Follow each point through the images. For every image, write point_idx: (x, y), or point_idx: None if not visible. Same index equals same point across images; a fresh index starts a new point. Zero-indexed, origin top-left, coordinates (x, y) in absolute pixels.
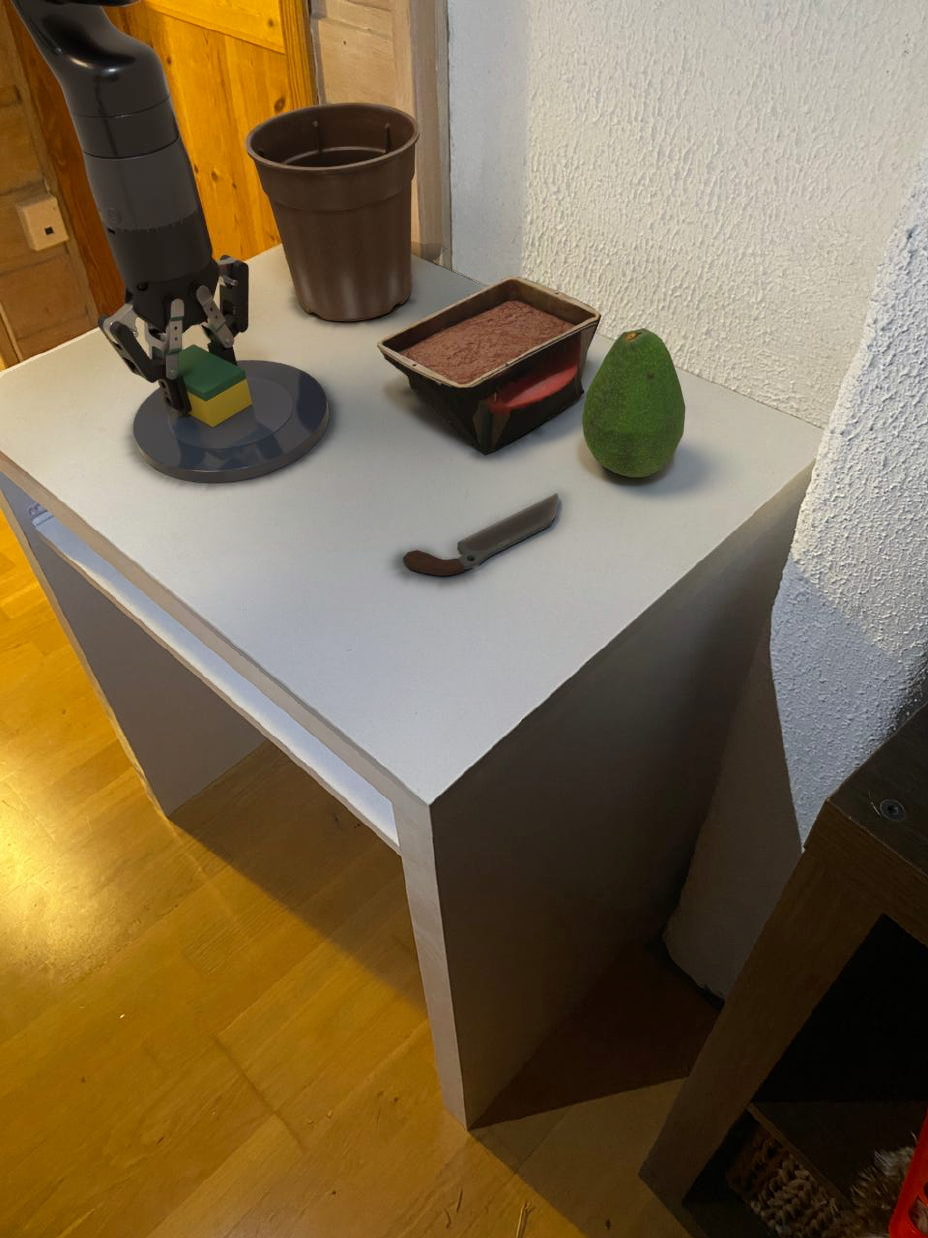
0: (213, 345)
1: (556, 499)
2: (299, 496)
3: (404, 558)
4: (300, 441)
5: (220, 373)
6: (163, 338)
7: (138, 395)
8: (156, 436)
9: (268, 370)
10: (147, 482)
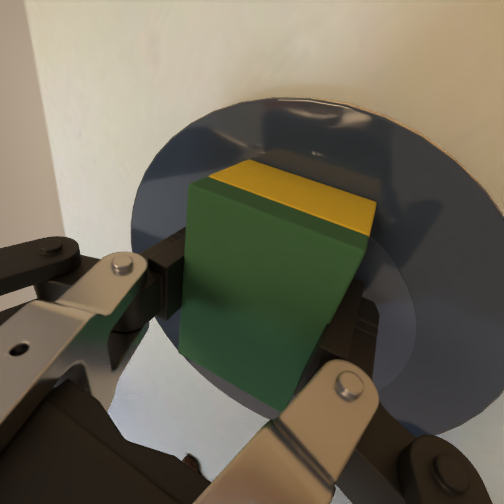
0: (315, 367)
1: None
2: (204, 393)
3: (183, 461)
4: (256, 410)
5: (245, 371)
6: (61, 381)
7: (293, 4)
8: (162, 219)
9: (463, 348)
10: (127, 235)
